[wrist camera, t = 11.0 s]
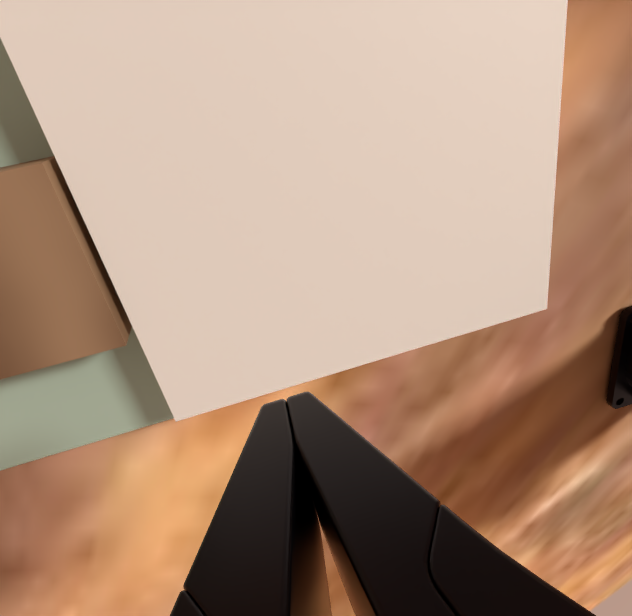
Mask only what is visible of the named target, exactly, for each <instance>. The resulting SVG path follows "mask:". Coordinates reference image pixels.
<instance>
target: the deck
mask: <svg viewBox="0 0 632 616" xmlns="http://www.w3.org/2000/svg"><path fill="white" fill-rule="evenodd" d="M567 3H568V0H0V38H1V40H2V42H3V45H4V47H5V49H6V51H7V53H8V56H9V58H10V60H11V62H12V64H13V66H14V69H15V71H16V73H17V75H18V77H19V80H20V82H21V84H22V86H23V88H24V91H25V93H26V95H27V97H28V99H29V101H30V104H31V106H32V108H33V110H34V112H35V115H36V117H37V119H38V121H39V123H40V126H41V128H42V130H43V132H44V134H45V137H46V139H47V141H48V143H49V145H50V147H51V150H52V152H53V154H54V156H55V158H56V161H57V163H58V165H59V167H60V169H61V172H62V174H63V176H64V178H65V180H66V182H67V185H68V187H69V189H70V191H71V193H72V196H73V198H74V200H75V202H76V204H77V207H78V209H79V211H80V213H81V215H82V217H83V220H84V222H85V224H86V226H87V228H88V231H89V233H90V235H91V237H92V239H93V242H94V244H95V246H96V248H97V250H98V253H99V255H100V257H101V259H102V261H103V263H104V266H105V268H106V270H107V272H108V274H109V277H110V279H111V281H112V283H113V285H114V288H115V290H116V292H117V294H118V296H119V298H120V301H121V303H122V305H123V307H124V309H125V312H126V314H127V316H128V318H129V320H130V323H131V325H132V327H133V329H134V331H135V333H136V336H137V338H138V340H139V342H140V344H141V347H142V349H143V351H144V353H145V355H146V358H147V360H148V362H149V364H150V366H151V368H152V371H153V373H154V375H155V377H156V379H157V382H158V384H159V386H160V388H161V390H162V393H163V395H164V397H165V399H166V401H167V404H168V406H169V408H170V410H171V412H172V414H173V417H174V419H175V421H179V420H183V419H186V418H189V417H193V416H196V415H199V414H202V413H206V412H209V411H212V410H216V409H219V408H222V407H225V406H229V405H232V404H235V403H239V402H242V401H245V400H249V399H252V398H255V397H258V396H262V395H265V394H268V393H272V392H275V391H278V390H281V389H285V388H288V387H291V386H295V385H298V384H301V383H305V382H308V381H311V380H314V379H318V378H321V377H324V376H328V375H331V374H334V373H337V372H341V371H344V370H347V369H351V368H354V367H357V366H361V365H364V364H367V363H370V362H374V361H377V360H380V359H384V358H387V357H390V356H393V355H397V354H400V353H403V352H407V351H410V350H413V349H417V348H420V347H423V346H426V345H430V344H433V343H436V342H440V341H443V340H446V339H449V338H453V337H456V336H459V335H463V334H466V333H469V332H473V331H476V330H479V329H482V328H486V327H489V326H492V325H496V324H499V323H502V322H505V321H509V320H512V319H515V318H519V317H522V316H525V315H529V314H532V313H535V312H538V311H542V310H545V309H547V301H548V286H549V271H550V256H551V241H552V226H553V212H554V197H555V182H556V167H557V152H558V137H559V122H560V107H561V93H562V78H563V63H564V48H565V33H566V18H567Z"/></svg>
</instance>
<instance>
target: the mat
mask: <svg viewBox="0 0 632 616" xmlns="http://www.w3.org/2000/svg"><path fill="white" fill-rule="evenodd" d="M52 156H54V154H53V152H52V150H51V147H50V145H49V143H48V141H47V139H46V137H45V134H44V132H43V130H42V128H41V126H40V123H39V121H38V119H37V117H36V115H35V112H34V110H33V108H32V106H31V104H30V101H29V99H28V97H27V95H26V93H25V91H24V88H23V86H22V84H21V82H20V80H19V77H18V75H17V73H16V71H15V69H14V66H13V64H12V62H11V60H10V58H9V56H8V53H7V51H6V49H5V47H4V45H3V42H2V40H1V38H0V167H5V166H10V165H14V164H19V163H24V162H28V161H33V160H38V159H42V158H47V157H52ZM172 418H174V417H173V414H172V412H171V410H170V408H169V406H168V404H167V401H166V399H165V397H164V395H163V393H162V390H161V388H160V386H159V384H158V382H157V379H156V377H155V375H154V373H153V371H152V368H151V366H150V364H149V362H148V360H147V358H146V355H145V353H144V351H143V349H142V347H141V344H140V342H139V340H138V338H137V336H136V333H135V331H134V329H133V327H132V328H131V331H130V335H129V338H128V341H127V345H126V346H123V347H119V348H115V349H112V350H108V351H104V352H101V353H97V354H93V355H89V356H86V357H82V358H78V359H75V360H71V361H67V362H63V363H60V364H56V365H52V366H49V367H45V368H41V369H38V370H34V371H30V372H26V373H23V374H19V375H15V376H12V377H8V378H4V379H1V380H0V470H4V469H7V468H10V467H14V466H17V465H20V464H24V463H27V462H30V461H34V460H37V459H40V458H43V457H47V456H50V455H53V454H57V453H60V452H63V451H67V450H70V449H73V448H77V447H80V446H83V445H86V444H90V443H93V442H96V441H100V440H103V439H106V438H110V437H113V436H116V435H120V434H123V433H126V432H129V431H133V430H136V429H139V428H143V427H146V426H149V425H153V424H156V423H159V422H162V421H166V420H169V419H172Z"/></svg>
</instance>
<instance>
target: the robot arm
mask: <svg viewBox="0 0 632 616" xmlns="http://www.w3.org/2000/svg"><path fill="white" fill-rule="evenodd" d="M607 403H608V404H609V405H610V406H611V407H613V408H615V409H618V408H621V407H624V406H627V405H630V404H632V306H631V307H628V308H626V309H625V310H624V311H623V312H622V313H621V315H620V318H619V324H618V331H617V337H616V343H615V350H614V356H613V362H612V368H611V375H610V381H609V387H608V394H607ZM317 515H318V516H317ZM318 518H319V520H318ZM319 521H320V524H321V527H322V530H323V533H324V536H325V538H326V541H327V544H328V546H329V549H330V551H331V554H332V556H333V559H334V562H335V564H336V567H337V569H338V572H339V574H340V577H341V579H342V582H343V585H344V587H345V590H346V592H347V595H348V597H349V600H350V602H351V605H352V608H353V610H354V613H355V615H356V616H596V615H594V614H592V613H591V612H590V611H588V610H587V609H585V608H584V607H582V606H581V605H579V604H578V603H576V602H575V601H573V600H572V599H570V598H569V597H567V596H566V595H565V594H563V593H562V592H560V591H559V590H557V589H556V588H554V587H553V586H551V585H550V584H548V583H547V582H545V581H544V580H542V579H541V578H539V577H538V576H537V575H535V574H534V573H532V572H531V571H529V570H528V569H527V568H525V567H524V566H522V565H521V564H519V563H518V562H517V561H515V560H514V559H512V558H511V557H510V556H508V555H507V554H505V553H504V552H502V551H501V550H500V549H498V548H497V547H496V546H495V545H493V544H492V543H491V542H489V541H488V540H487V539H486V538H484V537H483V536H482V535H481V534H479V533H478V532H477V531H475V530H474V529H473V528H472V527H470V526H469V525H468V524H467V523H465V522H464V521H463V520H462V519H461V518H459V517H458V516H457V515H456V514H455V513H453V512H452V511H451V510H450V509H449V508H448V507H446V506H445V505H441V504H440V501H439V500H438V499H436V498H435V497H434V496H433V495H432V494H430V493H429V492H428V491H427V490H426V489H425V488H423V487H422V486H421V485H420V484H419V483H417V482H416V481H415V480H414V479H413V478H411V477H410V476H409V475H408V474H407V473H405V472H404V471H403V470H402V469H401V468H400V467H398V466H397V465H396V464H395V463H394V462H392V461H391V460H390V459H389V458H388V457H386V456H385V455H384V454H383V453H382V452H380V451H379V450H378V449H377V448H376V447H374V446H373V445H372V444H371V443H370V442H369V441H367V440H366V439H365V438H364V437H363V436H361V435H360V434H359V433H358V432H357V431H355V430H354V429H353V428H352V427H351V426H349V425H348V424H347V423H346V422H345V421H343V420H342V419H341V418H340V417H339V416H338V415H336V414H335V413H334V412H333V411H332V410H330V409H329V408H328V407H327V406H326V405H324V404H323V403H322V402H321V401H320V400H318V399H317V398H316V397H315V396H314V395H313V394H311V393H310V392H304V393H300V394H297V395H294V396H291V397H288V399H287V402H286V401H285V400H284V399H280V400H277V401H274V402H270V403H267V404H264V405H263V406H262V407H261V409H260V412H259V414H258V416H257V418H256V421H255V423H254V425H253V428H252V430H251V432H250V434H249V437H248V439H247V441H246V444H245V446H244V448H243V450H242V453H241V455H240V457H239V460H238V462H237V464H236V466H235V469H234V471H233V473H232V476H231V478H230V480H229V482H228V485H227V487H226V489H225V492H224V494H223V496H222V498H221V501H220V503H219V505H218V508H217V510H216V512H215V514H214V517H213V519H212V521H211V524H210V526H209V528H208V530H207V533H206V535H205V537H204V540H203V542H202V544H201V546H200V549H199V551H198V553H197V556H196V558H195V560H194V562H193V565H192V567H191V569H190V571H189V574H188V576H187V578H186V581H185V583H184V586H183V587H184V590H183V591H181V592H180V594H179V596H178V598H177V600H176V603H175V605H174V607H173V610H172V612H171V614H170V616H332V613H331V605H330V598H329V590H328V582H327V574H326V567H325V559H324V551H323V544H322V537H321V531H320V525H319Z"/></svg>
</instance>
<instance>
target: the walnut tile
mask: <svg viewBox="0 0 632 616" xmlns="http://www.w3.org/2000/svg"><path fill="white" fill-rule="evenodd" d="M131 328H132V325H131V323H130V320H129V318H128V316H127V314H126V312H125V309H124V307H123V305H122V303H121V301H120V298H119V296H118V294H117V292H116V290H115V288H114V285H113V283H112V281H111V279H110V277H109V274H108V272H107V270H106V268H105V266H104V263H103V261H102V259H101V257H100V255H99V253H98V250H97V248H96V246H95V244H94V242H93V239H92V237H91V235H90V233H89V231H88V228H87V226H86V224H85V222H84V220H83V217H82V215H81V213H80V211H79V209H78V207H77V204H76V202H75V200H74V198H73V196H72V193H71V191H70V189H69V187H68V185H67V182H66V180H65V178H64V176H63V174H62V172H61V169H60V167H59V165H58V163H57V161H56V158H55V156H52V157H47V158H42V159H38V160H33V161H28V162H24V163H19V164H14V165H10V166H5V167H0V380H1V379H4V378H8V377H12V376H15V375H19V374H23V373H26V372H30V371H34V370H38V369H41V368H45V367H49V366H52V365H56V364H60V363H63V362H67V361H71V360H75V359H78V358H82V357H86V356H89V355H93V354H97V353H101V352H104V351H108V350H112V349H115V348H119V347H123V346H126V345H127V341H128V338H129V335H130V331H131Z"/></svg>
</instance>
